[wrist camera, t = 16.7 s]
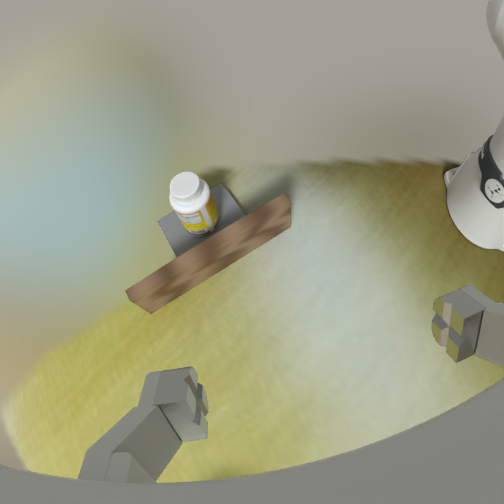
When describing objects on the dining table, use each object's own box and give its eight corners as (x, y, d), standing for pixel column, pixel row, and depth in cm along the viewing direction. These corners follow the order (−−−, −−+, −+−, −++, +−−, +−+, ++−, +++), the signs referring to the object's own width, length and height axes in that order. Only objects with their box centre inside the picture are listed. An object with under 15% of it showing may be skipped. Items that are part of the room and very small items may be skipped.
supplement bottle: (207, 199, 49) (191, 159, 40) (227, 223, 47) (214, 185, 38) (178, 219, 48) (156, 182, 39) (196, 245, 46) (176, 211, 37)
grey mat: (222, 185, 51) (221, 182, 50) (251, 224, 48) (251, 221, 47) (159, 223, 49) (157, 221, 49) (182, 266, 46) (181, 264, 45)
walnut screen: (284, 219, 47) (284, 192, 41) (290, 226, 47) (290, 200, 40) (147, 305, 44) (125, 290, 38) (151, 314, 43) (129, 300, 37)
